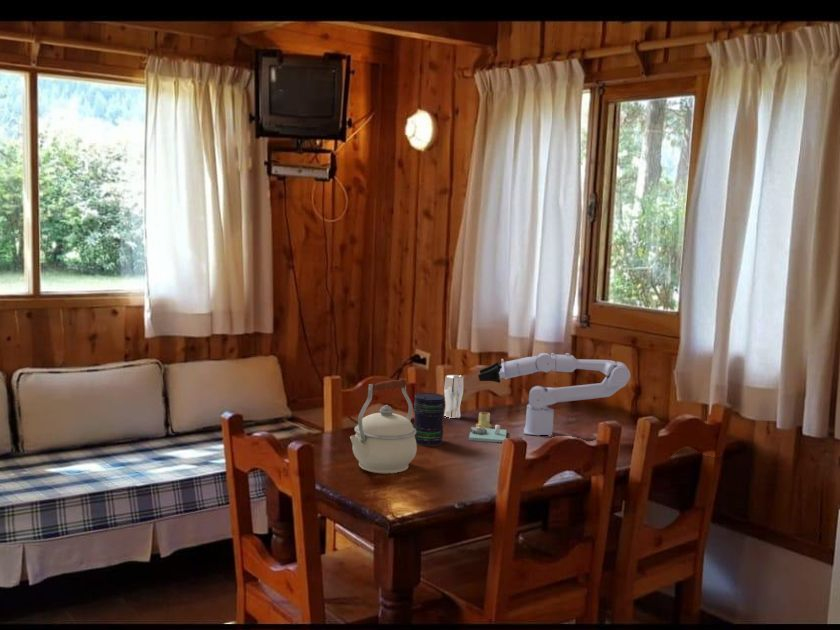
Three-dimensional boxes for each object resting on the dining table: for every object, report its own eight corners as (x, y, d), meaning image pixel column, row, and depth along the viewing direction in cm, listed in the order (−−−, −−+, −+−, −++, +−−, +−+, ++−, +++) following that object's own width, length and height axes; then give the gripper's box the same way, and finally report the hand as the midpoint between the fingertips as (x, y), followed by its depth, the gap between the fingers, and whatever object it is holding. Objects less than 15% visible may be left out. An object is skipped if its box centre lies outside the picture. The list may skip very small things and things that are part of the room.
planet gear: (491, 426, 291) (492, 412, 290) (491, 429, 285) (491, 415, 285) (476, 424, 291) (477, 410, 291) (475, 428, 286) (476, 414, 285)
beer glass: (462, 415, 304) (464, 375, 303) (461, 419, 298) (463, 378, 296) (443, 413, 305) (445, 374, 303) (441, 418, 298) (444, 377, 297)
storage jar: (422, 435, 272) (424, 391, 270) (448, 441, 267) (450, 396, 266) (406, 442, 264) (408, 396, 262) (432, 447, 259) (435, 400, 257)
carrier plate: (506, 432, 282) (507, 421, 282) (505, 443, 268) (506, 431, 268) (471, 429, 284) (472, 418, 283) (468, 440, 270) (469, 428, 269)
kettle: (385, 452, 250) (389, 371, 248) (432, 466, 239) (437, 381, 236) (325, 468, 231) (329, 381, 228) (374, 484, 220) (378, 392, 217)
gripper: (516, 352, 289) (478, 360, 292) (515, 360, 275) (475, 368, 277) (520, 372, 290) (482, 379, 292) (519, 380, 276) (480, 388, 278)
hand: (479, 375), depth 285 cm, fingers open, 7 cm apart
